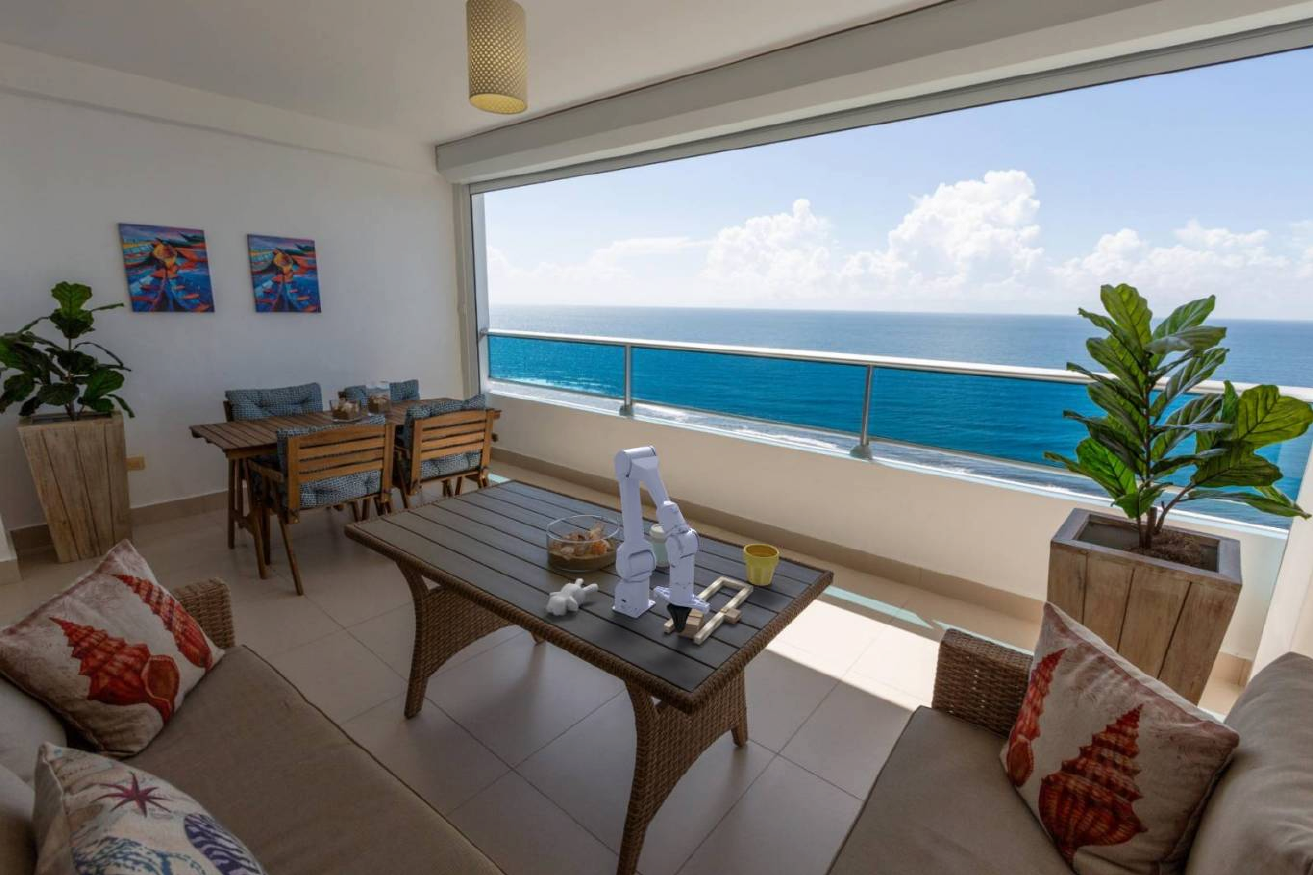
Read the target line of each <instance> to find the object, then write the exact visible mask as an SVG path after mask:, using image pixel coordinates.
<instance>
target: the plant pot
mask: <svg viewBox="0 0 1313 875" xmlns="http://www.w3.org/2000/svg"><path fill="white" fill-rule="evenodd" d="M742 553H743V554H742V555H743V556H742V557H743V558H742V559H743V562H744V563H745V568H746V574H747V580H748V582H750V584H752V585H755V586H759V587H763V586H767V585H770V584H771V583H772V578H773V576H774V572H775V569H776V566H778V564H779V559H780V552H779V550H778V549H777V547H774V546H772V545H770V544H762V543H751V544H748V545H745V546H744V547H743V551H742Z"/></svg>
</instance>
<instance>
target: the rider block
mask: <svg viewBox="0 0 1313 875" xmlns="http://www.w3.org/2000/svg"><path fill="white" fill-rule="evenodd" d="M705 624H706V614H702V611H699V610H696V609H692V611H691V612H690V614H689V616H688V619H687V621H686V625H685V629H684V631H682V632H681V633H678V632H677V636H680V637H684V638H689V639H693V640H694V636H695V635H696V634H697V633H698V632H699V631H700V630H701V629H702V628H703V627H704V626H705Z"/></svg>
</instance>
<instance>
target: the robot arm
mask: <svg viewBox="0 0 1313 875" xmlns="http://www.w3.org/2000/svg"><path fill="white" fill-rule="evenodd" d="M658 456H659V455H658V452H657V450H656V448H655V447H654V446H652V445H645V446H642V447H634V448H629V449H619V450H617V452H616V454H615V456H613V460H614V462H613V463H614V470H615V471H614V472H615V473H614V474H615V480H617V481H618V487H619V488H618V489H619V495H620V496H619V497H620V505H621V507H620V508H621V514H622V515H621V517H622V525H623V535H624V541H623V542H622V544H621V545H619V547H618V548H617V549H616V559H615V568H616V572H617V574H618V575H619V577H621V580H620V582H619V583H617V585H616V586H615V589H614V606H612V607H611V608H612V610H613V611H616V612H617V613H621V614H624V615H626V616H629V617H630V618H631V617H632V618H634V619H638V617H640V616H642V614H643V613H645V612H646V611H648V610H649V609H650V608H651V607H653V606H654V605H655V604H656V601H654V600H653V599H650V576H652V575H653V571H654V570H656V567H657V566H656V556H655V554H654V551H653V545H652V544H651V542H649V541H647V540H646V539H645V532H644V523H643V512H642V499H641V489H640V481H641V482H642V483H643V485H644V486H645V488H646V491H647V492H648V493H649V495H650V497H651V499H652V501H653V502H654V504H655V506H656V510H655V517H656V519H657V521H658V524H660V525H661V527H662V529H663V532H664V534H665V536H666V538H667V541H666V542H665V547H666V551H667V553H668V560H669V563H670V566H669V583H668V584H669V586H668V587H669V588H668V587H662V586H656V587H655V588H653V597H655V598H662V599H665V600H666V601H667V602H669V603H668V604H667V605H666V610H667V612H668V613H669V615H670V617H671V618H672V620H673V623H674V627H675V629H674V631H675V632H676V633H677V634H678V633H681V632H682V631H684V629H685V625H686V621H687V619H688V616H689V614H690V612H691V611H692V609H696V610H699V611H702V614H705V615H707V614H708V613H709V612H710V603H709V602H707V601H705V602H704V601H703V600H701V599H700V598H698V597H697V595H695V594H694V582H695V581H694V579H695V578H694V577H695V576H694V574H695V572H694V571H695V554H696V553H698V552H699V550H700V548H701V540H700V537H699V534H698V533H697V531H696V530H695V529H693V528H692V526H691V525H689V524H687V522H686V520H685V519H684V516H683V514H682V512H681V510H680V508H679V506H678V504H677V503H676V502H674V501H671V499H670V497H669V493H668V492H667V490H666V487H665V484H664V482H663V479H662V476H661V474H660V471H659V466H660V458H659V457H658Z"/></svg>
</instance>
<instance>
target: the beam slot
mask: <svg viewBox="0 0 1313 875" xmlns="http://www.w3.org/2000/svg"><path fill="white" fill-rule="evenodd" d="M722 587H727V588H731V589H734V590H736V591H739V592H738V593H737V594H736V595H735V596H734V597H733V598H731V600H730V601H729V602H728V603H726V605H724V606H723V607H722V608H720V610H719V611H718V612H717V613H716V614H714V616H713V617H712V618H711V619H710V620H709V621H708V622H707V623H705V624H704V626H703V628H702V629H701V630H700V631H699V632H698V633H697V634H696V635H695V636H694V639H693V643H694V644H696V645H701V644H702V643H703V642H704V641H705V640H706V639H707V638H708V637H709V636H711V634H712V633H713V632H714V631H715V630H716V629H717V628H718V627H719V626H720V625H721V624H722V623H723V622H727V623H730V624H733V625H735V624H736V623H737V622H738V621H739V620H741V618H742V610H738V609H737V608H738V607H740V605H741V604H742V603H744V601H745V600H746V599H747V598H748V597H749V596H750V595H752V593H753V592H754V586H753V584H752V585H751V584H748V583H745V582H742V581H739V580H735V579H732V578H729V577H725V576H720V577H718V578H717V579H716V580H715V581H714V582H713V583H712V584H710V585H709V586H707V588H705V589H704V590H703V591H702V592H701V593H700V594H698V595H696V597H698V598H700V599H701V600H703V601H704V602H707V601H708V600H709V599H710V598H711V597H712V596H714V595H715V593H717V592H718V591H719V590H720V589H721V588H722ZM673 630H674V631H675V627H674V623H673V620H672V617H671V618H670V619H669V620H668V621H667V622H666V623H664V624H663V632H665V633H667V634H670V633H672V632H673Z"/></svg>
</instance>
